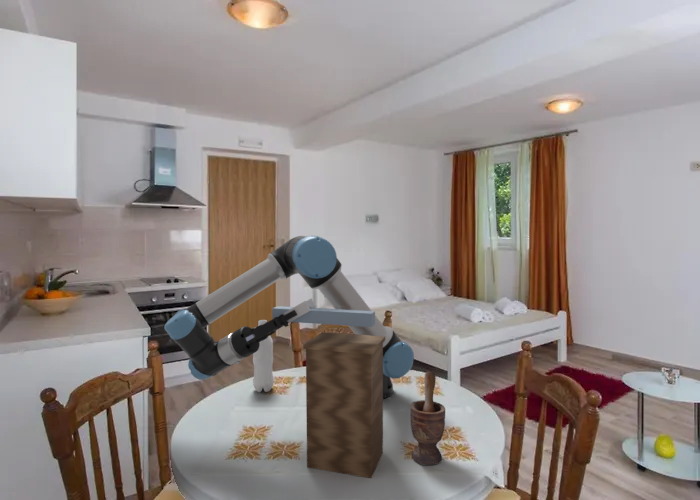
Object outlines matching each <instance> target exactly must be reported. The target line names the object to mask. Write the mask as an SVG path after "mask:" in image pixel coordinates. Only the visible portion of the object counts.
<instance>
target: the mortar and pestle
mask: <svg viewBox="0 0 700 500" xmlns="http://www.w3.org/2000/svg"><path fill="white" fill-rule="evenodd" d="M435 387H436V373H435V372H434V371H425V373H424V394H425V395H424V399H423V400H421V399H420V400H416V401H413V402H411V403H410V406H409V414H410V418H409V421H410V428H411V433H412V437H413V438H414V440H415V441H416V442H417V445H416V446H414V448H413V449H412V452H411V457H412V459H413V460H414V461H415V462H416V463H418V464H420V465H421V466H431V465H437V464H440V463H441V462H442V460H443V456H442V453H441V451H440V449H439V448H438V446H437V445H438V443H439V442H440V441H441V440H442V438H443V435H444V431H445V427H446V407H445V405H443V404H441V403H439V402H437V401H434V391H435Z"/></svg>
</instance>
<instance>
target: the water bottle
mask: <svg viewBox="0 0 700 500" xmlns="http://www.w3.org/2000/svg"><path fill="white" fill-rule="evenodd" d="M266 322H268V320H266V319H260V320H258V322H257V324H258V325H257V326H259V325H261V324H265V323H266ZM273 341H274V340H273V338H272V335H270V336H268V338H266V339H265V340H263V341H261V342H259V343H260V345H259V349H258V351H257V352H255V353H253V354H252V357H253V358H252V363H253V379H252V384H253V388H254V390H255V392H257V393H262V391H264V392H265V393H267V392H270V391H271V390H272V388H273V386H274V383H275V381H274V380H275V379H274V375H273V363H274V342H273Z"/></svg>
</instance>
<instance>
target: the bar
mask: <svg viewBox="0 0 700 500" xmlns="http://www.w3.org/2000/svg"><path fill="white" fill-rule="evenodd" d="M294 307H295V306H285V305H284V306H282V305H278V306H275V307H272V308H271V310H272V313H271V314H272V316H271V317H272V319H274V318H275V317H279V316H280V315H282V314H283V315H284V313H285V312H287V311H288V310H290V309H292V308H294ZM310 310H311V311H309V312H307V313H305V314H304V315H302V316H300V317H298V318H296V319H295V320H293V321H291V322H290V323H301V324H315V325H316V324H317V325H318V324H319V325H320V324H321V325H331V326H332V325H335V326H348V327H349V326H362V327H373V326H374V325H375V316H376V310H375V311H374V310H371V311H360V310H341V309H334V308H322V307H321V308H320V307H316V308H310ZM272 319H271V320H272ZM287 322H288V321H287Z"/></svg>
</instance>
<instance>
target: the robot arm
mask: <svg viewBox="0 0 700 500" xmlns="http://www.w3.org/2000/svg"><path fill="white" fill-rule="evenodd" d="M342 265H343V264H342V263H341V262H340V260H339V259H338V258H337V252H336V250H335V248H334V246H333V244H332V243H331V242H330V241H328V240H327V239H325V238H323V237H321V236H318V235H308V236H307V235H298V236H295V237H292V238H291V239H289V240H287V241H286V242H285V243H283V244H282V245H279V247H277V248H276V249H274V250H273V251H272V252H270V253H268V254H267V258H266V259H264V260H263V261H262V262H260V263H258V264H257V265H255V266H253V267H251V268H250V269H248V270H247V271H245V272H244V273H242V274H240V275H238V277H236V278H234V279H232V280H231V281H229V282H228V283H226V284H225V285H223V286H221V287H219V288H217V289H216V290H214V291H213V292H211V293H210V294H208V295H206V296H204V297H203V298H202V299H199V300H198V301H197V302H195V303H193V304H191V305H190V306H189V307H187V308H182V309H179V310H178V311H177V312H175V314H174V315H173V316H172V317H171V318H170V319H168V320H167V322H166V323H165V324H164V331H165V332H166V333H167V334H168V336H169V338H171V340H173V341H174V342H175V344H177V345H178V346H179V348H180V349H182V351H184V353H186V355H187V356H188V358H189V360H188V362H187V363H188V365H187V366H188V369H189V370H190V374H191V375H192V376H193V377H194V378H195V379H197V380H201V381H205V380H207V379H210V378H211V377H214V376H216V375H219V374H220V373H221V372H222V371H224V370H226V369H228V368H230V367H232V366H234V365H235V364H236V365H240V363H241V361H242V360H244V359H245V358H247V357H250V356H253V353H255V352H257V351H258V349H259V345H260V343H259V342H261V341H263V340H265V339H266V338H268V336H272V335H273V334H276V332H277V330H279V329H281V328H283V327H285V328H288V327H289V324H290V323H292V322H291V321H293V320H295V319H296V318H298V317H300V316H302V315H304V314H305V313H307V312H309V311H311V310H310V308H317V306H316V303H315V302H314V301H313V298H312V297H311V298H310V299H308V300H304V301H302V302H300V303H299V304H297V305H296V306H293V307H294V308H292V309H290V310H288V311H287V312H285V313H284V315H283V314H282V315H280V316H279V317H275V318H274V319H270V320H269V321H267V322H266V323H265V324H261V325H259V326H258V325H257V326H255V327H252V328H251V327H250V326H245V325H244V326H241V327H239V328H238V329H237V330H235V331H233V332H231V333H230V334H228V335H226V336H224V337H223V338H220V339H219V340H217V341H216V340H215V339H214V338H213V337H212V335H211V334H209V332H208V331H207V330H206V329H205V328H206V327H208V326H209V325H210V324H212V323H214V322H215V321H216V320H219V319H220V318H221V317H223V316H225V315H226V314H227V313H229V312H230V311H233V310H234V309H235V308H237V307H239V306H241V305H242V304H244V303H245V302H247V301H249V299H251V298H252V297H254V296H256V295H257V294H259V293H261V292H262V291H263V290H265V289H267V288H268V287H270V286H272V285H273V284H274V283H277V281H280V280H287V279H288V278H290V277H292V276H294V275H296V274H299V276H300V277H301V278H302V279H303V280H304V281H305V283H306V284H307V285H308V286H309V287H310V288H311V289H314V290H319V291H320V293H321V294H322V295H323V297H324V298H325V299H326V301H327V302H328V303H330V305H331V306H332V307H333V309H341V310H360V311H372V309H371V308H370V306H368V304H367V303H366V302H365V300H364V298H362V296H361V295H360V293H358V292H357V290H356V288H354V286H353V285H352V283H351V282H350V281H349V280H348V278H347V277H346V276H345V275H344V273H343V272H342ZM287 321H288V322H287ZM348 327H349V329H350V330H351V331H352V332H353V333H354V334H357V335H371V336H385V341H384V342H383V399H387V398H389V397H391V396H392V395H393V393H394V385H393V382H392V379H400V378H402V377H404V376H405V375H407V374H408V373H409V372H410V370H411V369H412V367H413V364H414V358H415V355H414V350H413V349H412V347H411V346H410V344H408V343H407V342H405V341H403V340H402V339H400V337H399V336H398V335H397V333H396V332H395V331H394V330H393V328H392V327H391V326H387V325H386V326H385V325H383V323H382V321H381V320H379V318H378V317H377V316H376V315H375V325H374V326H373V327H362V326H348Z"/></svg>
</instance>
